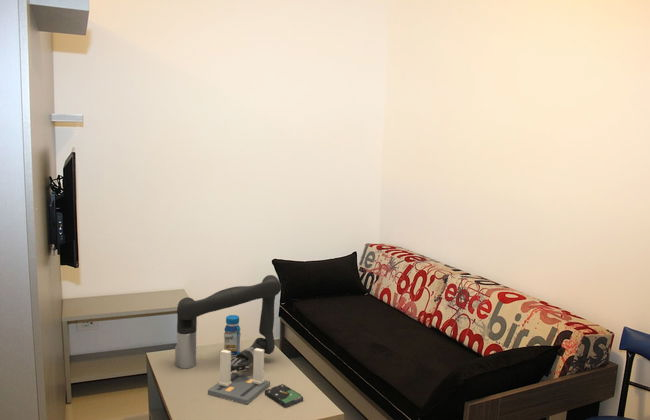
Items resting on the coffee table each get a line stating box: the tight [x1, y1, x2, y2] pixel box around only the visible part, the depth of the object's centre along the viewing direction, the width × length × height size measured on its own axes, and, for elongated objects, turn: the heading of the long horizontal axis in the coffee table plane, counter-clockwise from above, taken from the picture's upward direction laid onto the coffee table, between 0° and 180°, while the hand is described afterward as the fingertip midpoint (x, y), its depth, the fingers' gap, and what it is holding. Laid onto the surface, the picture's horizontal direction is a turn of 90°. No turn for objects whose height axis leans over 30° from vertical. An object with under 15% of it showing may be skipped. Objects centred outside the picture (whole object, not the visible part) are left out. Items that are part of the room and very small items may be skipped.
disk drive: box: [264, 383, 304, 409], centre depth 231 cm, size 10×3×15 cm
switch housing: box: [207, 371, 271, 405], centre depth 236 cm, size 20×20×2 cm
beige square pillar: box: [218, 349, 232, 387], centre depth 235 cm, size 4×4×15 cm
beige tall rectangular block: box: [252, 348, 265, 385], centre depth 238 cm, size 4×4×15 cm
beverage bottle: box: [223, 314, 241, 357], centre depth 274 cm, size 8×8×20 cm
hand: (226, 371), depth 236 cm, fingers closed
